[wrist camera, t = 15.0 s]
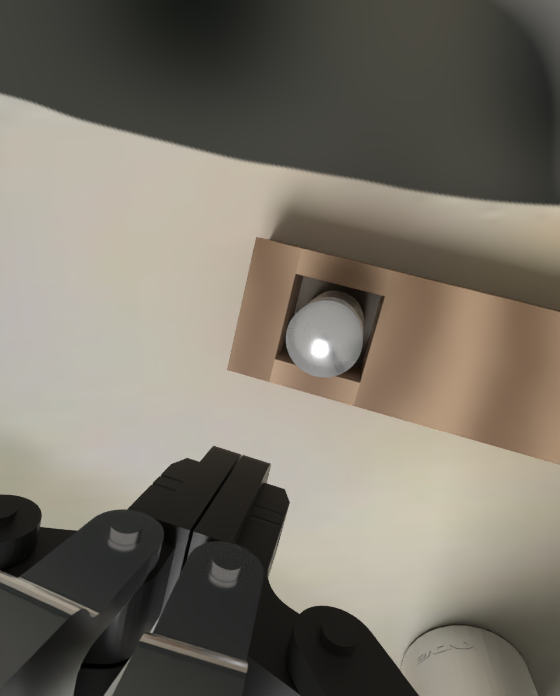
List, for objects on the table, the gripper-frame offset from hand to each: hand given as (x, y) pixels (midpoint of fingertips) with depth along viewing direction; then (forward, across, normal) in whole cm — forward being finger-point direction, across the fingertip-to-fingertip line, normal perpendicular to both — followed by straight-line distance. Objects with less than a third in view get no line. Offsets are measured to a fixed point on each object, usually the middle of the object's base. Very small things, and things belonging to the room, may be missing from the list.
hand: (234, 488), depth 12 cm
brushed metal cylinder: (+22, 0, -2) cm, 22 cm away
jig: (+22, -8, -2) cm, 23 cm away
